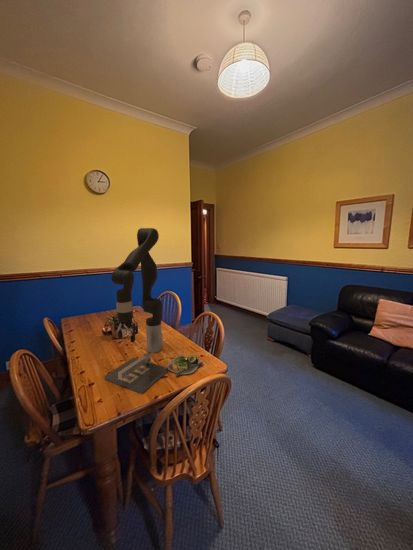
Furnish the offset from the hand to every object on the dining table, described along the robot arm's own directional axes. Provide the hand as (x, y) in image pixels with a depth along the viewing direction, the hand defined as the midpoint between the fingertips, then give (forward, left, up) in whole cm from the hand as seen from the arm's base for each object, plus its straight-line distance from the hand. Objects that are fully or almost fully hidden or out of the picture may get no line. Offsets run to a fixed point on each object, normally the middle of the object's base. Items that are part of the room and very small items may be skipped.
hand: (126, 340), depth 118 cm
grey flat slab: (0, +6, -18) cm, 19 cm away
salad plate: (-19, +23, -19) cm, 35 cm away
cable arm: (+1, +6, -14) cm, 15 cm away
